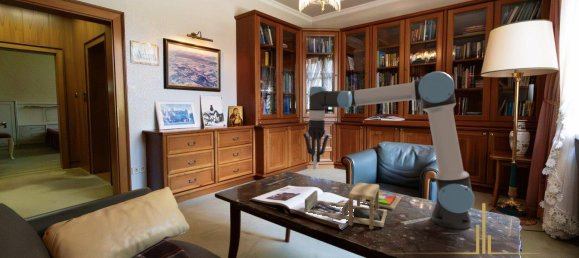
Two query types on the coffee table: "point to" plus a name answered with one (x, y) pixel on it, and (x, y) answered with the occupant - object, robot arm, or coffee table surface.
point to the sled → (312, 200)
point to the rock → (364, 214)
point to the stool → (364, 193)
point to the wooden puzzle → (385, 200)
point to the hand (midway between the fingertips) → (315, 168)
